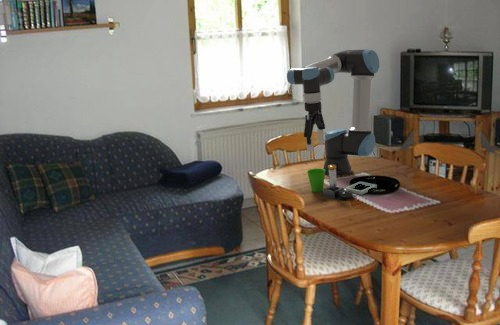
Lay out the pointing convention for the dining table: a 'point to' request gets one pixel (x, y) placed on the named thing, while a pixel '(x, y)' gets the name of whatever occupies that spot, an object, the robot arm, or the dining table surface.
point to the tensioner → (338, 194)
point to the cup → (316, 179)
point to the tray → (350, 188)
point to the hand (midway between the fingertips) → (315, 147)
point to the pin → (332, 177)
